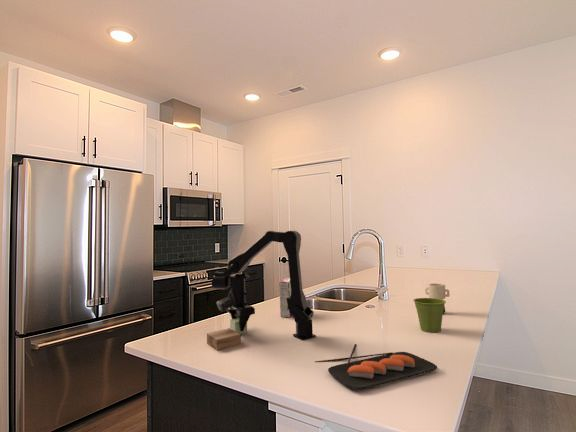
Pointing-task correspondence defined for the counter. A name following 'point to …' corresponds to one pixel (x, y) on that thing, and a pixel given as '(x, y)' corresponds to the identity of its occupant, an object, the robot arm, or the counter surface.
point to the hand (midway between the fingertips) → (238, 329)
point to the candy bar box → (284, 296)
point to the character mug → (437, 292)
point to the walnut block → (223, 339)
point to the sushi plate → (379, 369)
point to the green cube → (237, 326)
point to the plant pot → (430, 313)
